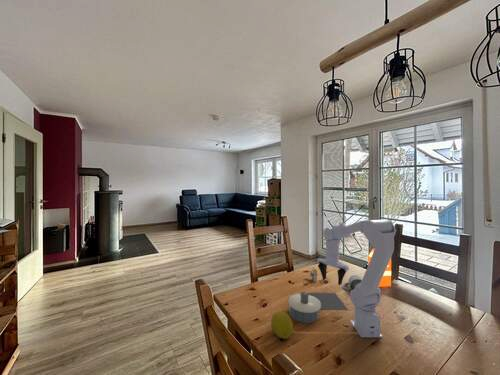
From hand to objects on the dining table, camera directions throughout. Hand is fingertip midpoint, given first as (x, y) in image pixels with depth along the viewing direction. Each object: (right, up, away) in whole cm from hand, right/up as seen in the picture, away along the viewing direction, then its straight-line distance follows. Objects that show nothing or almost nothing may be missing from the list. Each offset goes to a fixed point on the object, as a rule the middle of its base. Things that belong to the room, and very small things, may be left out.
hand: (332, 281), depth 104 cm
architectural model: (-2, -11, +25) cm, 27 cm away
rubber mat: (-3, -10, +1) cm, 11 cm away
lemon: (-27, -11, -21) cm, 36 cm away
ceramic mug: (+16, -11, +13) cm, 23 cm away
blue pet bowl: (-16, -11, -9) cm, 21 cm away
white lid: (-15, -6, -9) cm, 19 cm away
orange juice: (+35, -10, +21) cm, 42 cm away
